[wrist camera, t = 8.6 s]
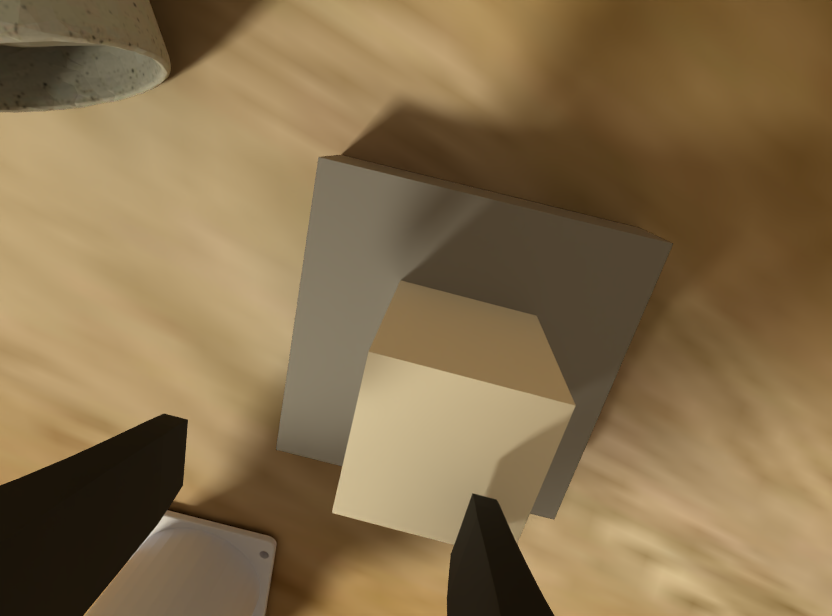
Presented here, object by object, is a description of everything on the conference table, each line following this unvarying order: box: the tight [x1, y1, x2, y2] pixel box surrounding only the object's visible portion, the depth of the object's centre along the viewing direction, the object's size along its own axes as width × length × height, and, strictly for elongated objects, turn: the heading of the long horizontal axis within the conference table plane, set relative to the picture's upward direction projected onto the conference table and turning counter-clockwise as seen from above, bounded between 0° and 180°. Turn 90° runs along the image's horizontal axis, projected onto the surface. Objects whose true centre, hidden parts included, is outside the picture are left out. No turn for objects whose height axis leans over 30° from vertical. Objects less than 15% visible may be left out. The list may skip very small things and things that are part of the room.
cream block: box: [332, 280, 576, 545], centre depth 15 cm, size 5×5×6 cm
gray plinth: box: [276, 155, 673, 519], centre depth 19 cm, size 12×12×3 cm
